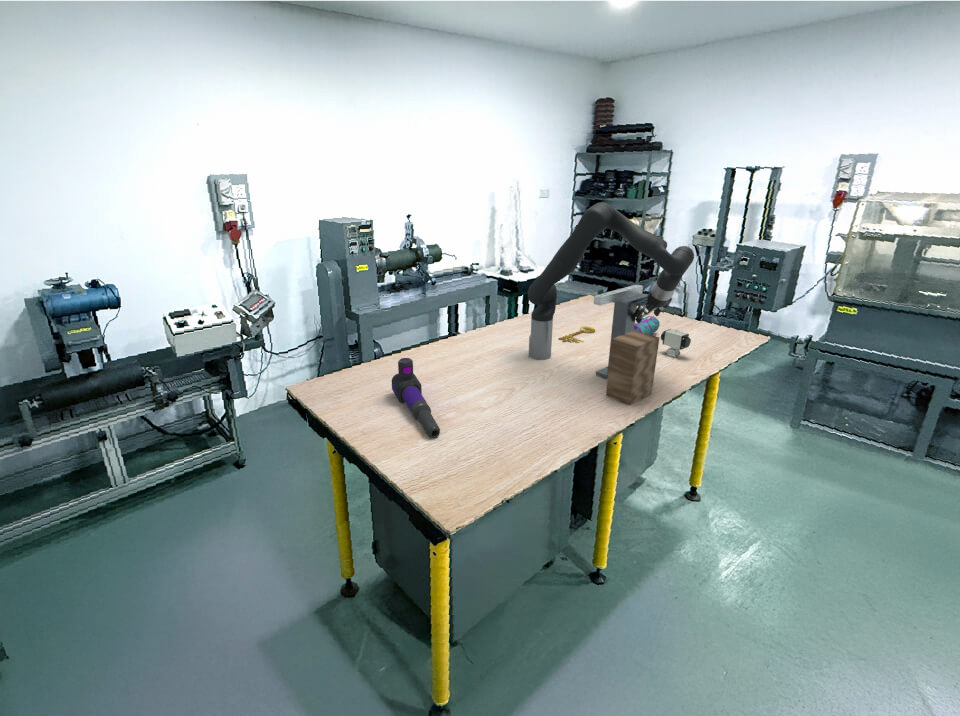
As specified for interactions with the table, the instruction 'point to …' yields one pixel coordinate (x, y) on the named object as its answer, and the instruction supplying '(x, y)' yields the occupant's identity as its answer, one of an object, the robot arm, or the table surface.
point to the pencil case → (647, 325)
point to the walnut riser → (632, 366)
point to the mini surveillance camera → (675, 341)
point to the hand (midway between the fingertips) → (646, 318)
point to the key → (582, 330)
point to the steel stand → (622, 322)
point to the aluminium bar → (618, 295)
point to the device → (413, 396)
